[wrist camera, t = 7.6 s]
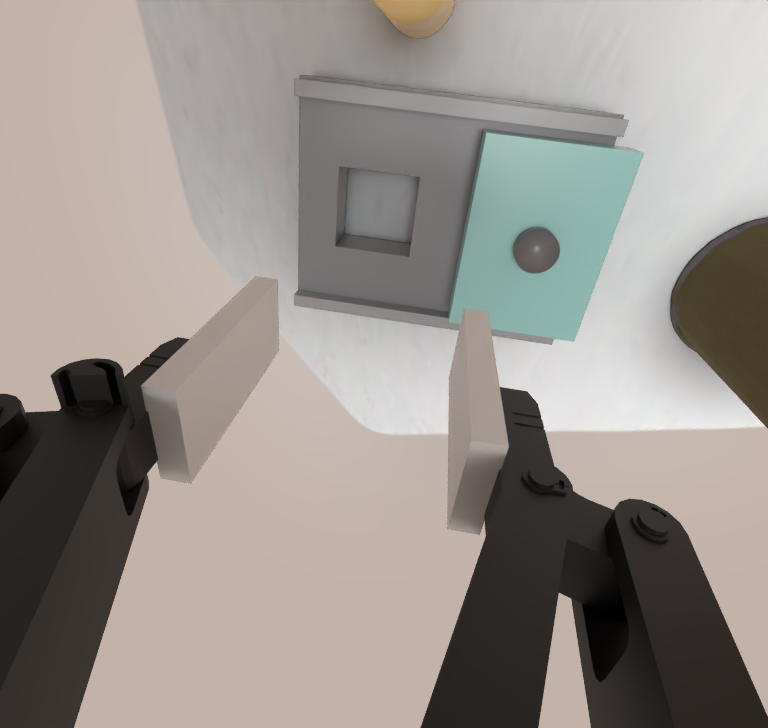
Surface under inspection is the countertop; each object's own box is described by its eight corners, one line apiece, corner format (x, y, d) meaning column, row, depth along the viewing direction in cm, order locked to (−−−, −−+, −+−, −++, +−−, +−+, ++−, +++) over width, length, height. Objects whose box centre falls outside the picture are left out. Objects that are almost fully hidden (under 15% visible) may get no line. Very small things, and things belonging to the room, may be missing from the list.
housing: (313, 75, 28) (294, 74, 25) (608, 112, 27) (630, 116, 24) (309, 287, 36) (294, 308, 32) (541, 321, 35) (550, 347, 31)
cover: (484, 129, 26) (487, 134, 23) (628, 147, 25) (651, 155, 22) (448, 307, 31) (448, 329, 29) (565, 324, 31) (577, 349, 28)
